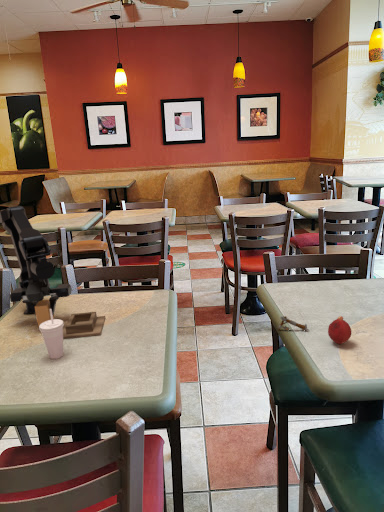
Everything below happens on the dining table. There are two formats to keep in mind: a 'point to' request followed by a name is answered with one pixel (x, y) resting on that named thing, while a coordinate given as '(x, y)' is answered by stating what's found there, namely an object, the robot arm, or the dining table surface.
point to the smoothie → (53, 336)
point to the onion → (339, 330)
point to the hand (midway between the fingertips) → (45, 316)
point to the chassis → (83, 325)
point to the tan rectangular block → (43, 311)
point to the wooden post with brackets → (291, 324)
